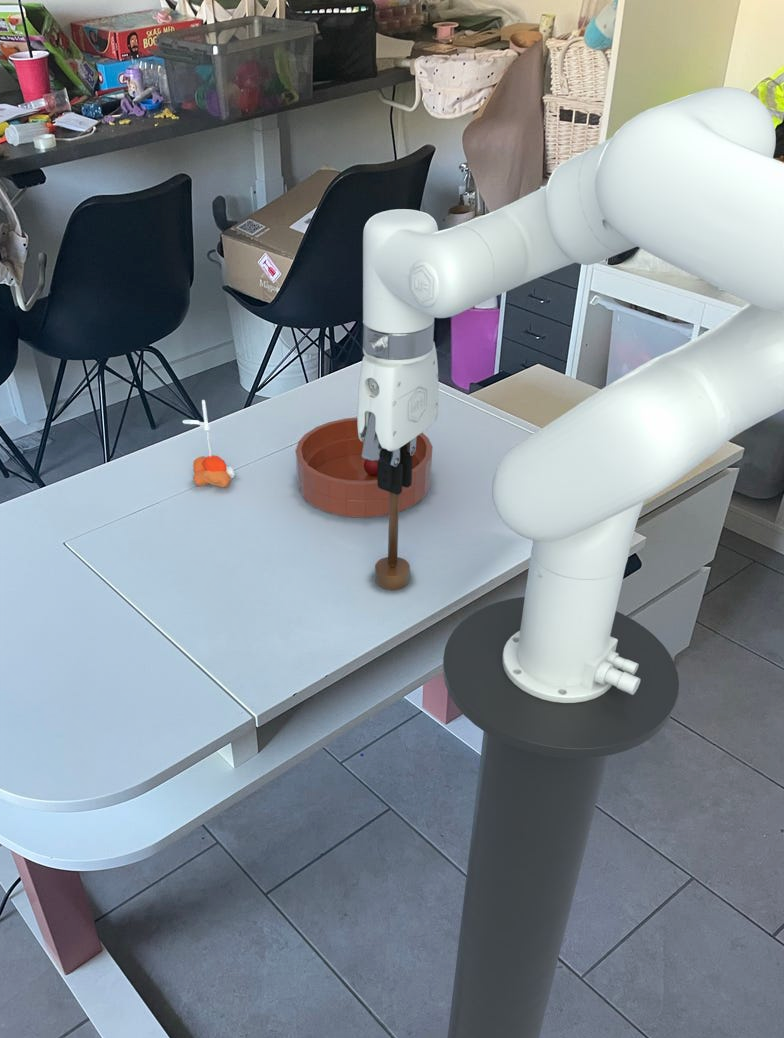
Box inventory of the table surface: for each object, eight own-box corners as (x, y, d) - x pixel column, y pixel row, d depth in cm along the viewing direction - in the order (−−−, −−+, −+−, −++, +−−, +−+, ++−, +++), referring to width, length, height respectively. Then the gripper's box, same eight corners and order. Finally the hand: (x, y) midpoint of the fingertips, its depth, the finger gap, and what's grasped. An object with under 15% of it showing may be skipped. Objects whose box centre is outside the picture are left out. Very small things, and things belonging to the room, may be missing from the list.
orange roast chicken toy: (209, 460, 147) (201, 388, 139) (244, 484, 141) (237, 410, 133) (177, 473, 144) (166, 401, 136) (211, 498, 138) (202, 423, 130)
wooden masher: (415, 577, 121) (421, 442, 109) (396, 594, 119) (400, 458, 106) (387, 566, 123) (390, 432, 111) (368, 582, 121) (368, 447, 108)
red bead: (387, 472, 140) (388, 455, 139) (376, 481, 139) (376, 463, 137) (371, 467, 142) (371, 449, 140) (359, 475, 140) (359, 457, 138)
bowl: (455, 476, 140) (458, 440, 136) (379, 536, 129) (379, 498, 125) (350, 440, 150) (350, 405, 146) (270, 493, 139) (268, 456, 135)
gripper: (384, 371, 94) (382, 526, 106) (466, 321, 103) (456, 469, 115) (325, 354, 98) (329, 505, 109) (409, 307, 107) (405, 452, 118)
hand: (394, 486), depth 112 cm, fingers closed on wooden masher, 1 cm apart
